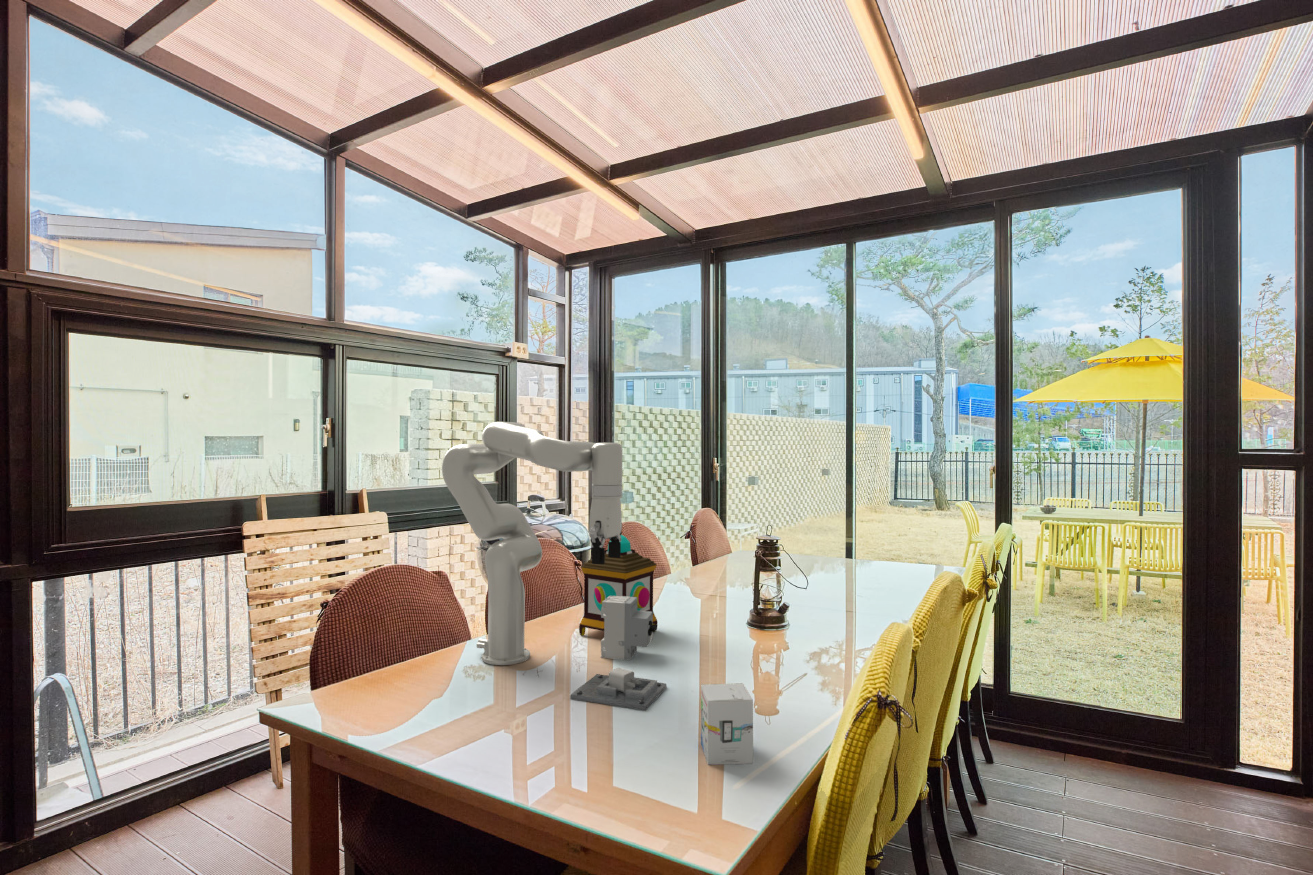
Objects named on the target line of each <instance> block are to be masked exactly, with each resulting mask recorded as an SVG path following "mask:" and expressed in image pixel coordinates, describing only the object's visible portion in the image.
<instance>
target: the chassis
mask: <svg viewBox="0 0 1313 875" xmlns="http://www.w3.org/2000/svg"><path fill="white" fill-rule="evenodd" d="M634 680H638V681H640V682H641V684H640V682H638V683H639V684H636V683H634V684H635V687H634V688H633V689H627V690H626V692H621V691H618V687H612V686H609V674H608V675H607V674H606V675H605V674H601V673H599V674H597V673H596V674H595V675H593V676H592V677H591V678H590V679H588V681H586V682H585V683H583V684H582V685H581V686H580V687H578V688H577V689H576V690H574V691H573V692H572V693H570V699H571V700H576V701H582V702H587V703H588V702H589V703H596V704H600V705H602V704H603V705H608V706H613V707H621V708H628V709H634V710H635V709H636V710H641V711H646V710H647V709H648V708H650V707H651V705H652V704H653V703H654V702H655V701H656V700H657V698H659V697H660V695H661V694H662V693H663V692H664V691H665V690H666V689H667V683H665V682H658V679H656V680H655V679H650V678H643V677H636V676H634Z"/></svg>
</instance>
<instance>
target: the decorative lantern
mask: <svg viewBox="0 0 1313 875" xmlns="http://www.w3.org/2000/svg"><path fill="white" fill-rule="evenodd" d="M609 541H610V540H609ZM610 542H611V541H610ZM657 565H658V564H657V563H656V562H655V561H654V560H651V558H650V557H644V556H643V555H640V553H639V552H636V549H633V548H631V541H630V540H629V539H628V538H627V537H626V536H625V535H623V534H621V557H620V558H611V557H608V549H605V564H603V565H601V564H592V558H591V559H588V560H587V562H584V563H583V565H581V566H580V570H581V572H582V573H583V577H584V584H583V586H584V587H583V588H584V589H583V591H584V592H583V602H584V603H583V617H582V618H581V620H580V622H579V626H578V631H579V636H584V635H585V634H586V628H587V629H590V630H591V629H592V630H596V631H601V632H604V618H601V608H602V602H603V601H604V600H605V599H606V598H608V597H609V596H625V597H637V611H650V612H653V625H657V626H658V619H657V617H656V615H655V612H654V572H655V570H656V568H657ZM603 614H604V613H603ZM655 632H657V630H655Z"/></svg>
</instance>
